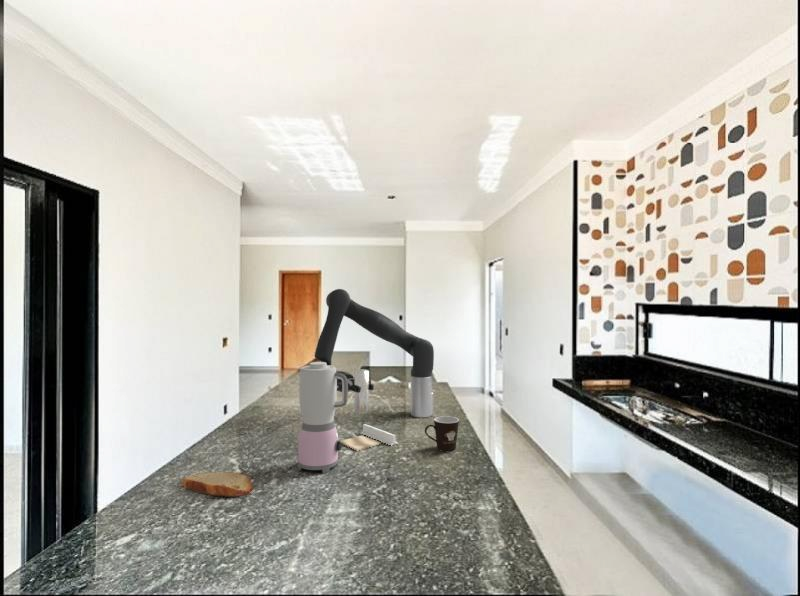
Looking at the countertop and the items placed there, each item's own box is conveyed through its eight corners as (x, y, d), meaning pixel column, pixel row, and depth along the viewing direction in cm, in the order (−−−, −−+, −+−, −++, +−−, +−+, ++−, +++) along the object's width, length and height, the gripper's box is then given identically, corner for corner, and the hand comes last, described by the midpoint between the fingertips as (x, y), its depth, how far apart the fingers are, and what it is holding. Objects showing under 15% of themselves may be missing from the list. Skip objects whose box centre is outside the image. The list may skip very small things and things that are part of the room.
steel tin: (363, 407, 168) (363, 368, 168) (371, 410, 164) (372, 370, 164) (351, 409, 165) (351, 370, 165) (359, 412, 161) (360, 372, 161)
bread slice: (180, 482, 132) (180, 469, 132) (246, 472, 140) (246, 459, 140) (180, 509, 116) (180, 494, 116) (255, 496, 123) (254, 482, 123)
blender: (290, 472, 138) (290, 365, 138) (306, 458, 150) (306, 359, 150) (341, 476, 135) (341, 367, 135) (353, 461, 147) (353, 361, 147)
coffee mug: (458, 444, 163) (458, 416, 163) (459, 453, 155) (459, 423, 155) (425, 443, 164) (425, 415, 164) (424, 452, 156) (424, 422, 156)
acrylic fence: (367, 432, 177) (367, 423, 177) (397, 444, 164) (397, 434, 164) (360, 434, 175) (360, 424, 175) (391, 446, 162) (391, 436, 162)
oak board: (362, 437, 171) (362, 435, 171) (380, 444, 163) (380, 442, 163) (339, 443, 165) (339, 440, 165) (357, 451, 157) (357, 449, 157)
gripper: (323, 373, 171) (349, 380, 158) (355, 369, 180) (382, 375, 167) (323, 393, 171) (349, 402, 158) (355, 388, 180) (382, 396, 167)
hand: (366, 388), depth 163 cm, fingers closed on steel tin, 5 cm apart
